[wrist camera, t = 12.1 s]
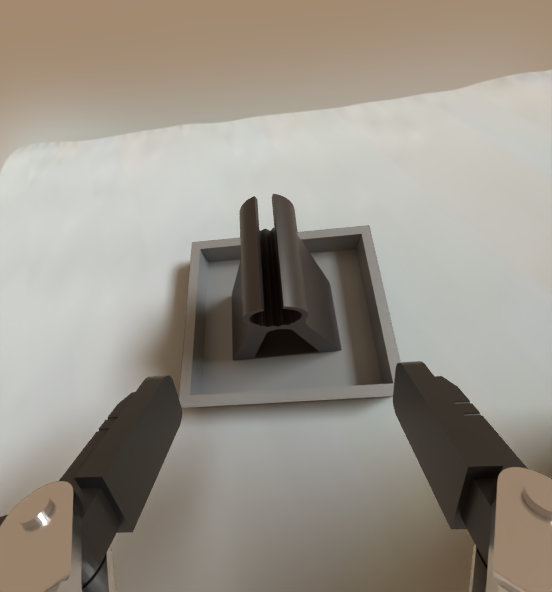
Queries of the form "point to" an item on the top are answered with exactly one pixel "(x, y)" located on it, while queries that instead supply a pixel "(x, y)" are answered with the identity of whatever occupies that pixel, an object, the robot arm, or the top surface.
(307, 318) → the phone stand
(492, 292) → the top surface
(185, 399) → the tray
